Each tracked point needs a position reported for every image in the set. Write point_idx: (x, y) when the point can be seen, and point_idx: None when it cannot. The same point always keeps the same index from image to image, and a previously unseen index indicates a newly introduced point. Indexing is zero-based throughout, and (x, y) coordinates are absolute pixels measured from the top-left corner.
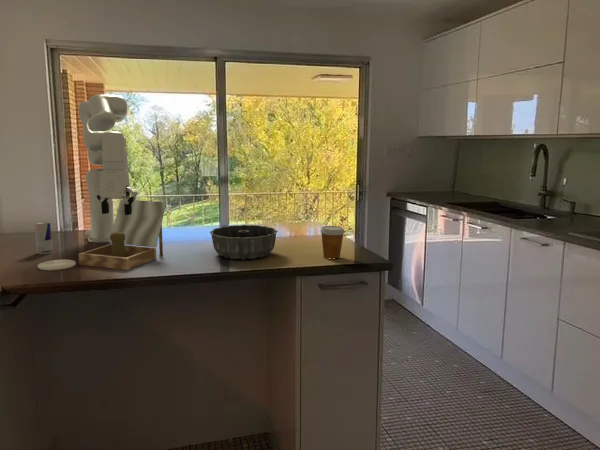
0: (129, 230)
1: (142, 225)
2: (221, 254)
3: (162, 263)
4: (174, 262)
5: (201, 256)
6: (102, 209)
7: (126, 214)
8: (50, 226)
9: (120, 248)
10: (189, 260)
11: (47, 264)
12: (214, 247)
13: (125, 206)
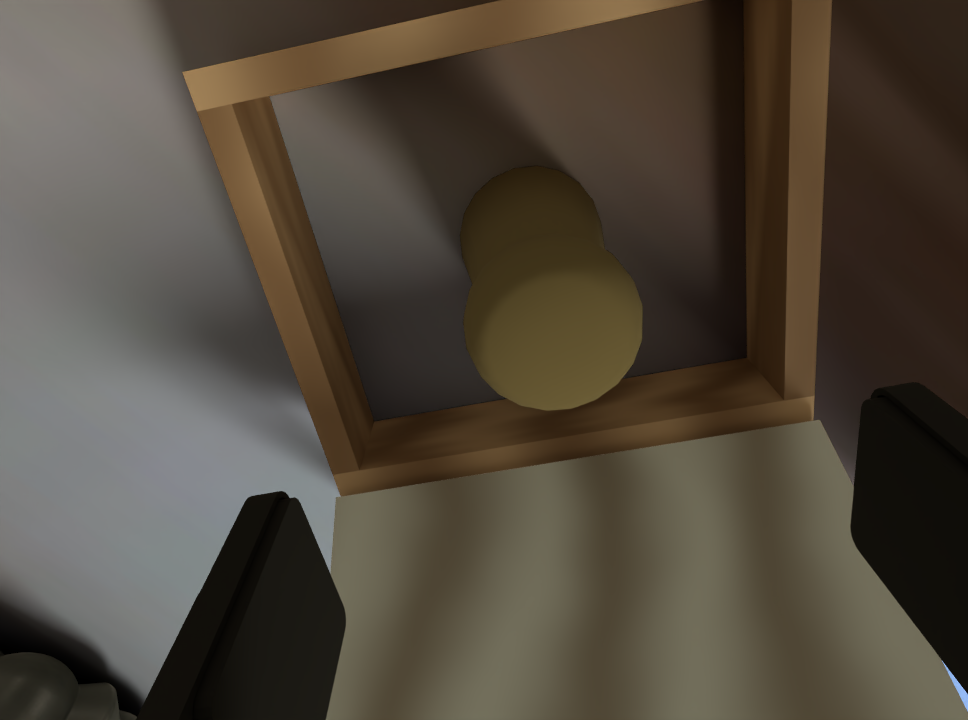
0: (671, 583)
1: (535, 675)
2: (12, 654)
3: (195, 368)
4: (155, 429)
5: (163, 610)
6: (963, 441)
7: (253, 509)
8: None
9: (479, 255)
10: (127, 512)
11: None
12: (100, 709)
13: (171, 657)
